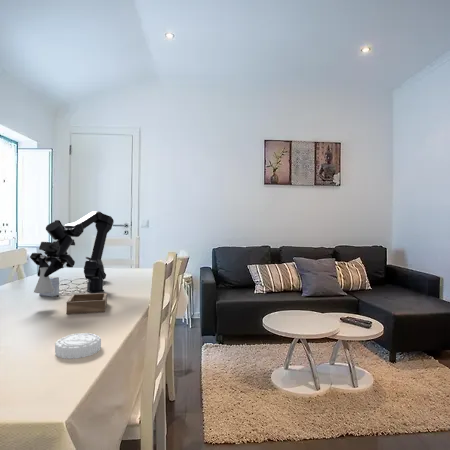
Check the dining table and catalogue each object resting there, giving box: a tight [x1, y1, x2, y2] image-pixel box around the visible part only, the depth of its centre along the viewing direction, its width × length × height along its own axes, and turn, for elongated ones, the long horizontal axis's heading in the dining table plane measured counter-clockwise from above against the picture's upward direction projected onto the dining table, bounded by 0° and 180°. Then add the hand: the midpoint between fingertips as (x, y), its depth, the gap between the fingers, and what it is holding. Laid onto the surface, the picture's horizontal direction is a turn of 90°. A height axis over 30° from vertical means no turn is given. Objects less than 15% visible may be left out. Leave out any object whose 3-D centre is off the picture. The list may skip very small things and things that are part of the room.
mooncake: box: [54, 332, 102, 360], centre depth 97 cm, size 12×12×4 cm
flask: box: [33, 267, 54, 294], centre depth 141 cm, size 7×7×10 cm
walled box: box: [65, 292, 108, 315], centre depth 141 cm, size 14×14×5 cm
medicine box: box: [38, 275, 60, 298], centre depth 163 cm, size 8×4×9 cm, turn 71°
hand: (41, 276), depth 139 cm, fingers closed on flask, 3 cm apart
